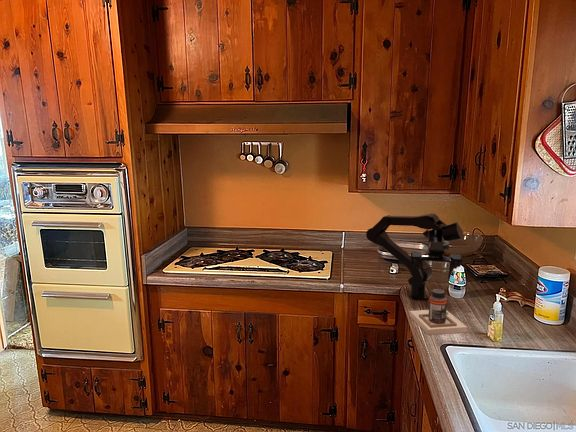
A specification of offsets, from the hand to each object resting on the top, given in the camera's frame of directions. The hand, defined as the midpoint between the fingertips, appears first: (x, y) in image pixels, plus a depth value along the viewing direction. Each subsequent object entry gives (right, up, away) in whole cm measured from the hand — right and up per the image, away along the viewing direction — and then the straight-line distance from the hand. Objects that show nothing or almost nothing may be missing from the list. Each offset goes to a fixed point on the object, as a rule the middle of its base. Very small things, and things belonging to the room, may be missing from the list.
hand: (435, 278), depth 163 cm
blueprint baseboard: (-2, -15, -7) cm, 17 cm away
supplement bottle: (-3, -14, -10) cm, 17 cm away
